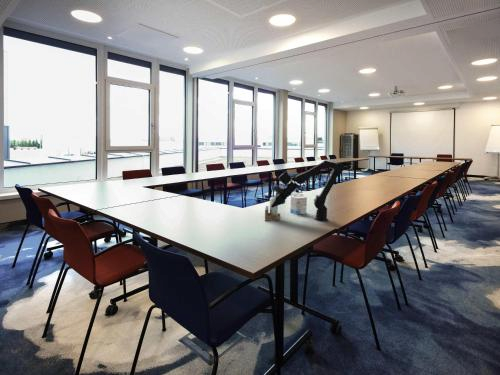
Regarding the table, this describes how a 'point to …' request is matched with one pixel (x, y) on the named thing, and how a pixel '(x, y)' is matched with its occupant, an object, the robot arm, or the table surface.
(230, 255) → the table surface
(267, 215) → the holder
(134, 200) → the table surface
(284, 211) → the table surface
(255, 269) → the table surface
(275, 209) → the pale green tapered cylinder
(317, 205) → the robot arm
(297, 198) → the ink box
